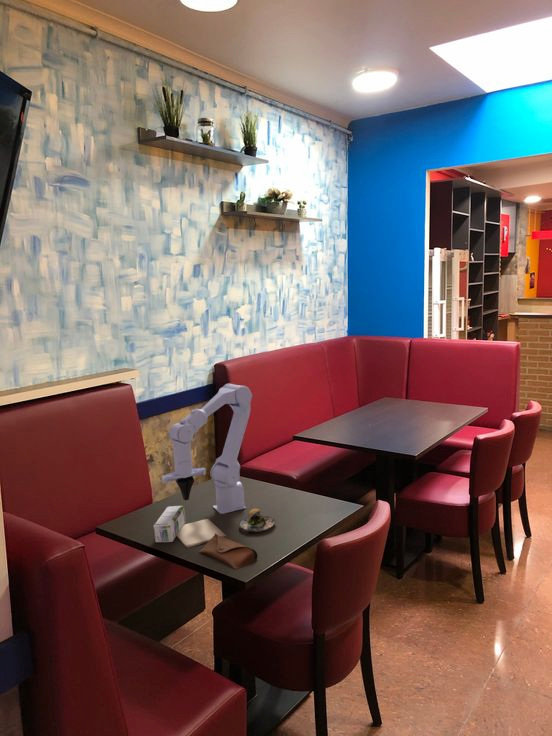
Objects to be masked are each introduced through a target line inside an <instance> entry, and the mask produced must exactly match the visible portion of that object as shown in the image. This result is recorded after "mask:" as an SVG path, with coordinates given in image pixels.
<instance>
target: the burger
mask: <svg viewBox="0 0 552 736" xmlns="http://www.w3.org/2000/svg"><path fill="white" fill-rule="evenodd" d="M250 506H251V510H249V512H248V513H247V514H248V515H247V517H245V518H242V519H241V520H240V521H239V522H238V523H239V524H238V526H239V528H238V529H239V532H240V533H242V534H245V535H249V532H255V533H256V532H257V533H259V532H263V531H266V530H269V529H271V528H272V527H273V526H274V525H275V524H276V519H275V518H272V517H270V516H266V515H262V514H260V513H261V510H260V509H259V508H253V507H252V505H250Z"/></svg>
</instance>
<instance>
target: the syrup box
mask: <svg viewBox="0 0 552 736" xmlns="http://www.w3.org/2000/svg"><path fill="white" fill-rule="evenodd" d="M185 511H186V510H185V506H184V505H173V506H170V505H169V506H167V507H166V508H165V510H164V511H163V512H162V514H161V515H160V517H158V519H157V521H156V522H155V523H154V524H153V533H154V539H155V540H154V541H155V543H171V542H174V540H175V539H176V538H177V536H176V535H177V534H178V532H179V530H180V529H181V527H182V526H183V525H185V524H186V513H185Z"/></svg>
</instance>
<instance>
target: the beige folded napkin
mask: <svg viewBox="0 0 552 736" xmlns="http://www.w3.org/2000/svg"><path fill="white" fill-rule="evenodd" d="M215 534H217V535H219V536H221V537H224V538H227V534H225V533H224V532H222V530H221V529H220V528H218V527H217V526H216V525H215V524H214V523H213V521H212V520H210V519H209V518H205V519H201V520H198V521H193V522H190V523H189V522H188V523H184V524H183V526H182V527H181V529H180V530H179V532H178V534H177V535H176V538H177V539H179V541H180V542H181V543H182V544H183V545H184V547H186V548H187V549H189V548H192V547H197V546H198V545H199V546H200V545H203V544H207V543H208V542H209V541H210V540H211V538H212V537H213V536H214V535H215Z"/></svg>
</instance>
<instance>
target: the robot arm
mask: <svg viewBox="0 0 552 736" xmlns="http://www.w3.org/2000/svg"><path fill="white" fill-rule="evenodd" d="M252 398H253V394H252V392H251V389H250V388H249V387H248V386H247V385H238V384H234V383H226V384H224V385H223V386H222V387H220V388H219V390H218V392H217V393H216V394H215V395H214V396H213V397H212V398H210V400H209V401H208V402H207V403H205V405H203V406H202V407H201V408H195V409H192V410H190V413H189V414H188V415H187V416H185V417H184V418H182V419H181V420H180V421H179V422H177V423H174V424H172V425H171V426H170V428H169V432H168V433H167V434H168V437H169V439H170V440H171V441H172V442H171V444H172V450H173V451H172V452H173V463H174V471H173V472H171V473H168V474H165V475H162V476H161V482H162V483H163V484H167V483H169V482H173V481H175V483H176V484H177V486H178V487H179V490H180V493H181V496H182V499H183V500H184V501H189V500H190V496H191V495H190V494H191V490H192V487H193V484H194V482H195V478H194V477H197V476H202V475H203V476H205V475H206V474H207V469H206V468H205V467H197V468H193V458H192V448H191V447H192V446H191V445H192V444H191V441H192V439H193V438H194V436H195V434H196V432H197V431H198V430H200V429H201V427H203V426H204V425H205V424H207V422H208V418H209V416H211V415H212V414H214V413H215V412H216V411H218V410H219V409H220V408H221V407H223V406H224V405H229V406H230V407H231V408H230V409H232V411H233V414H232V418H231V421H230V426H229V429H228V432H227V436H226V439H225V443H224V446H223V449H222V454H221V455H220V456H219V457H217V458H216V459H215V462H214V464H213V466H212V467H211V469H210V473H209V475H210V478H211V479H212V480H213V483H214V486H215V499H216V504H215V505H213V506H212V508H213V509H214V510H216V511H217V512H218V513H219V514H220V515H224V514H228V513H232V512H235V511H240V510H243V509H246V508H247V507H246V506H245V492H244V486H243V483H242V482H241V481H240V475H241V474H240V470H241V465H240V463H239V460H238V457H239V454H240V453H239V452H240V450H241V446H242V443H243V439H244V435H245V432H246V428H247V425H248V421H249V418H250V415H251V410H252V409H251V402H252Z"/></svg>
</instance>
